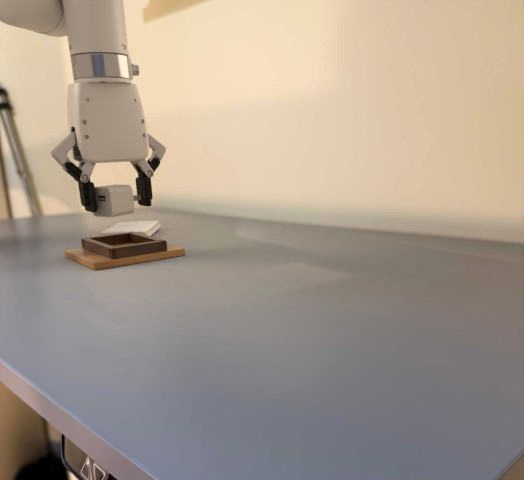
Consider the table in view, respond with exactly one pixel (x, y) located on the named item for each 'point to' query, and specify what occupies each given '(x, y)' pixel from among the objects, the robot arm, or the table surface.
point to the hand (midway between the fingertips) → (118, 207)
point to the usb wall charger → (115, 200)
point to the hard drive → (133, 227)
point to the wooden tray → (121, 250)
